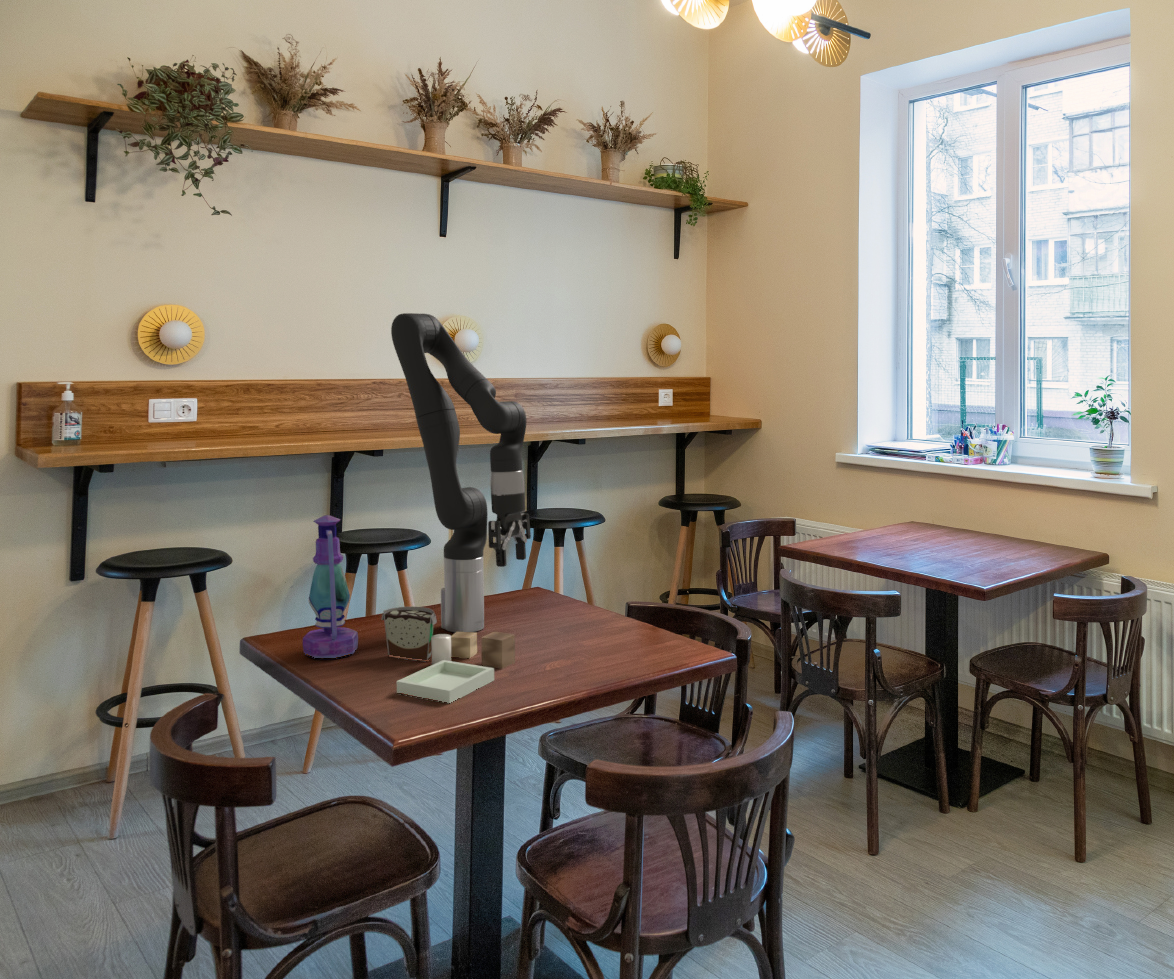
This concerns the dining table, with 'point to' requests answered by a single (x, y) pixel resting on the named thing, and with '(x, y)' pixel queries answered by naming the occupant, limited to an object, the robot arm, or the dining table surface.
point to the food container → (409, 631)
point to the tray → (446, 681)
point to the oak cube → (463, 644)
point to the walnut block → (498, 649)
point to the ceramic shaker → (441, 648)
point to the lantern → (329, 597)
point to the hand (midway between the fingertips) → (511, 562)
